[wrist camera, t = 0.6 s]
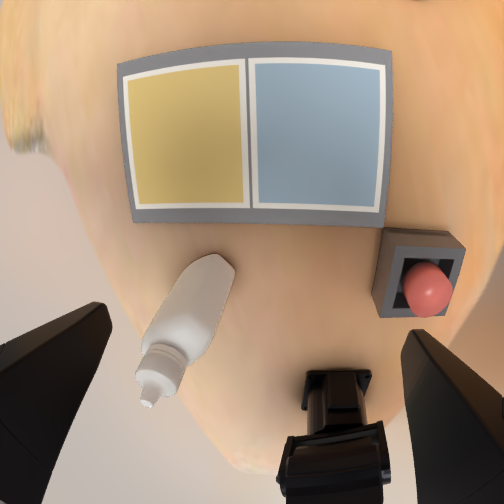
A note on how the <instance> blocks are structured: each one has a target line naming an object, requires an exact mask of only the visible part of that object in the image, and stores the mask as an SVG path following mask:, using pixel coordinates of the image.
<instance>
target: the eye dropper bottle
mask: <svg viewBox="0 0 504 504" xmlns="http://www.w3.org/2000/svg"><path fill="white" fill-rule="evenodd" d="M234 277H235V270H234V269H233V267H232V266H231V265H230V264H229V263H228V262H226V261H225V260H224V259H223V258H222V257H221V256H220V255H218V254H211V255H207V256H204V257H202V258H200V259H198V260H196V261H194V262H193V263H191V264H190V265H189V266H188V267H187V268H186V269H185V270H184V271H183V272H182V273H181V274H180V276H179V277H178V279H177V280H176V282H175V284H174V285H173V287H172V289H171V290H170V292H169V293H168V295H167V297H166V298H165V300H164V302H163V303H162V305H161V307H160V308H159V310H158V312H157V313H156V315H155V317H154V318H153V320H152V322H151V323H150V325H149V327H148V329H147V330H146V332H145V334H144V336H143V339H142V342H141V352H142V354H143V355H144V357H143V359H142V361H141V363H140V365H139V367H138V369H137V370H136V372H135V378H136V380H137V382H138V383H139V385H140V386H141V387H142V388H143V390H142V394H141V399H140V402H141V404H142V405H144V406H145V407H148V408H152V407H153V406H154V404H155V403H156V402H157V400H158V399H159V398H160V397H170V396H173V395H175V394H176V393H177V390H178V388H179V385H180V382H181V380H182V377H183V375H184V372H185V369H186V367H187V366H189V365H191V364H192V363H194V362H195V361H196V360H198V359H199V358H200V357H201V356H202V355H203V354H204V352H205V351H206V350H207V348H208V347H209V345H210V344H211V342H212V340H213V337H214V335H215V332H216V330H217V327H218V324H219V322H220V319H221V316H222V313H223V310H224V307H225V304H226V301H227V298H228V295H229V292H230V289H231V286H232V283H233V280H234Z"/></svg>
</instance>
